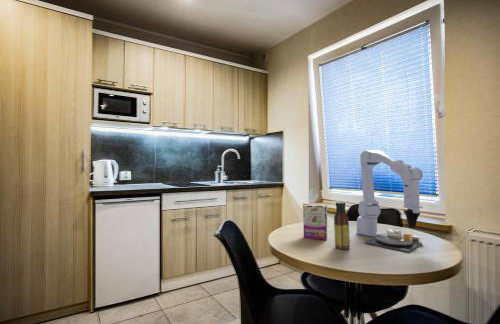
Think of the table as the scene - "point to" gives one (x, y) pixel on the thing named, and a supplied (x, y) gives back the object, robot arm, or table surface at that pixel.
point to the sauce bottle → (341, 227)
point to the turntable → (395, 240)
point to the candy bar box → (315, 221)
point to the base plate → (407, 249)
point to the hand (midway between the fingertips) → (411, 227)
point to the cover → (394, 234)
